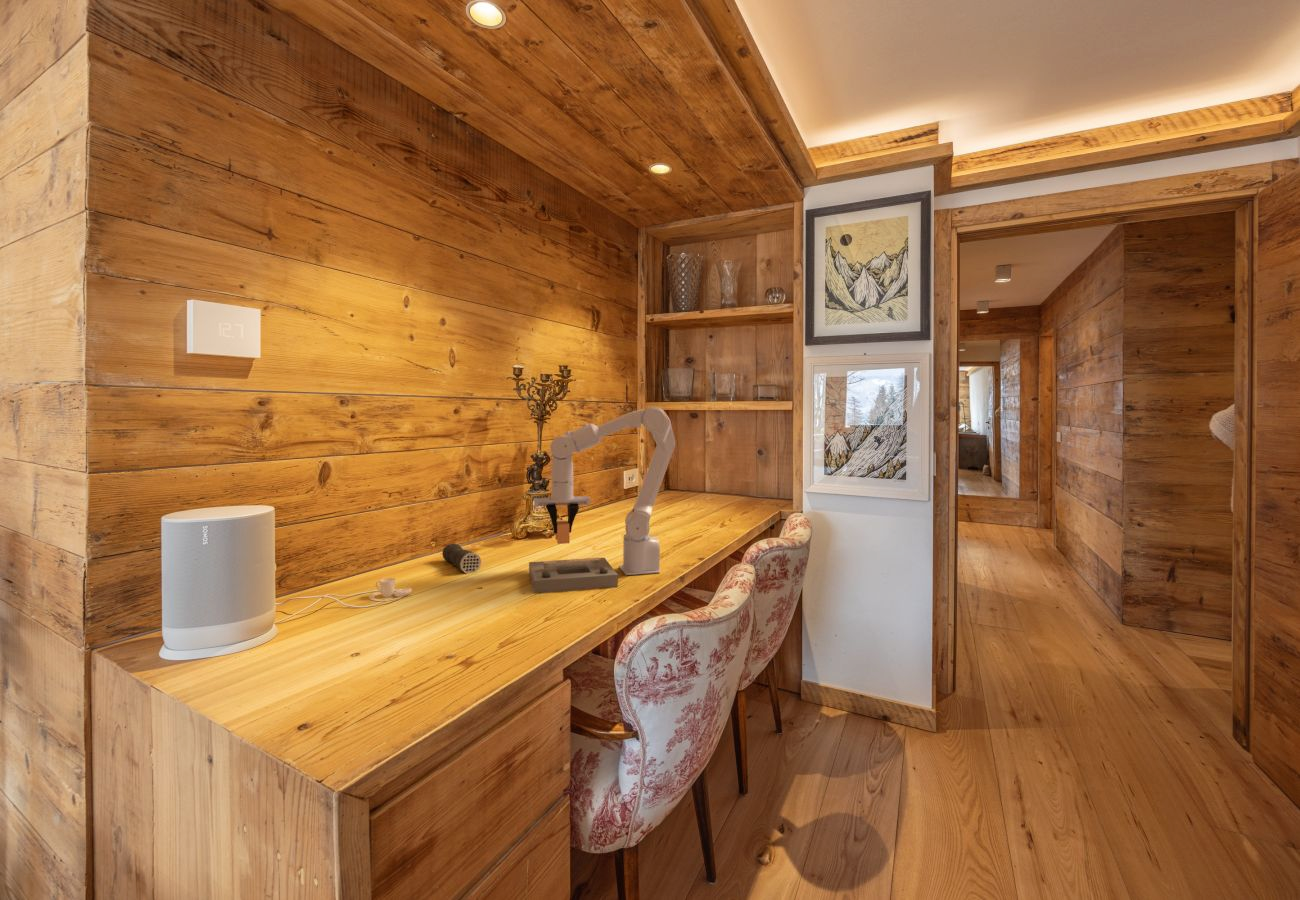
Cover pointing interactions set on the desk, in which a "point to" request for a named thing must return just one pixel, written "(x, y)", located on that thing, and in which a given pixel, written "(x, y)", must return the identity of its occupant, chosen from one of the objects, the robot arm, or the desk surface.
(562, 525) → the orange rectangular block
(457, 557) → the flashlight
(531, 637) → the desk surface
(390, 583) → the teacup and saucer
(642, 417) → the robot arm
